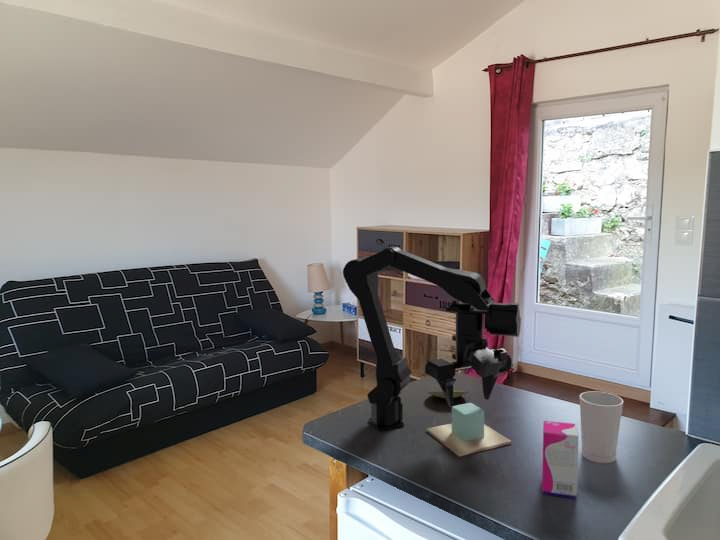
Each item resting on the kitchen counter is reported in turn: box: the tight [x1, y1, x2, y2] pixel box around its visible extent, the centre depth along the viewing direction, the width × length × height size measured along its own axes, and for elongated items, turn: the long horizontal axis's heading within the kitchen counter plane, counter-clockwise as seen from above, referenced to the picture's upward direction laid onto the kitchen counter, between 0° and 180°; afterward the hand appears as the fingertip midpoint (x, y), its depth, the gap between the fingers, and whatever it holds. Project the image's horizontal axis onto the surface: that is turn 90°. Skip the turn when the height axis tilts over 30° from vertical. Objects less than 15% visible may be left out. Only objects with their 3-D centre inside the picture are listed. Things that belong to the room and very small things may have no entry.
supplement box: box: [541, 420, 579, 500], centre depth 95 cm, size 6×6×12 cm
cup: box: [579, 390, 624, 464], centre depth 107 cm, size 8×8×12 cm
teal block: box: [451, 402, 485, 442], centre depth 116 cm, size 5×5×6 cm
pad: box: [426, 422, 512, 457], centre depth 117 cm, size 13×13×1 cm
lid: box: [427, 390, 470, 399], centre depth 138 cm, size 11×10×5 cm
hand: (468, 402), depth 115 cm, fingers open, 9 cm apart
